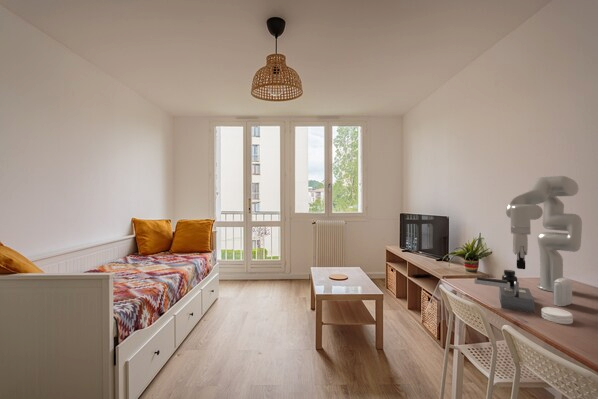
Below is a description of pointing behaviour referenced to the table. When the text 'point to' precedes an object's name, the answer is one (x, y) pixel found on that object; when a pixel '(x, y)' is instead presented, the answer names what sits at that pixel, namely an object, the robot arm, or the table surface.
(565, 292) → the photo printer
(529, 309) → the grey lever box
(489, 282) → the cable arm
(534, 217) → the robot arm
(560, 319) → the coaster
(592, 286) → the table surface
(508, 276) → the supplement bottle
